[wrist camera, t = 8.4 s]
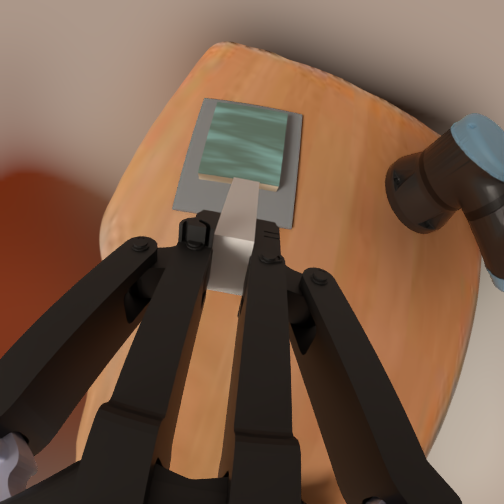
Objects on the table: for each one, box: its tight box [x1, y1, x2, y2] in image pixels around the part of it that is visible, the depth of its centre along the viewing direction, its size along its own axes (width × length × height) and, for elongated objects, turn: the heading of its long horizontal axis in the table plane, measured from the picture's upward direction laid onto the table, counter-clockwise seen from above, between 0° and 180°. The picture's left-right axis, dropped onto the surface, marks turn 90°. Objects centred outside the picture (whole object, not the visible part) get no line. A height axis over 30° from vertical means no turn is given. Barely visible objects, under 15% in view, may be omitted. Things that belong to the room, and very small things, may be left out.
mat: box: [172, 98, 302, 229], centre depth 44 cm, size 22×18×1 cm
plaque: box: [198, 102, 288, 192], centre depth 43 cm, size 2×12×14 cm
